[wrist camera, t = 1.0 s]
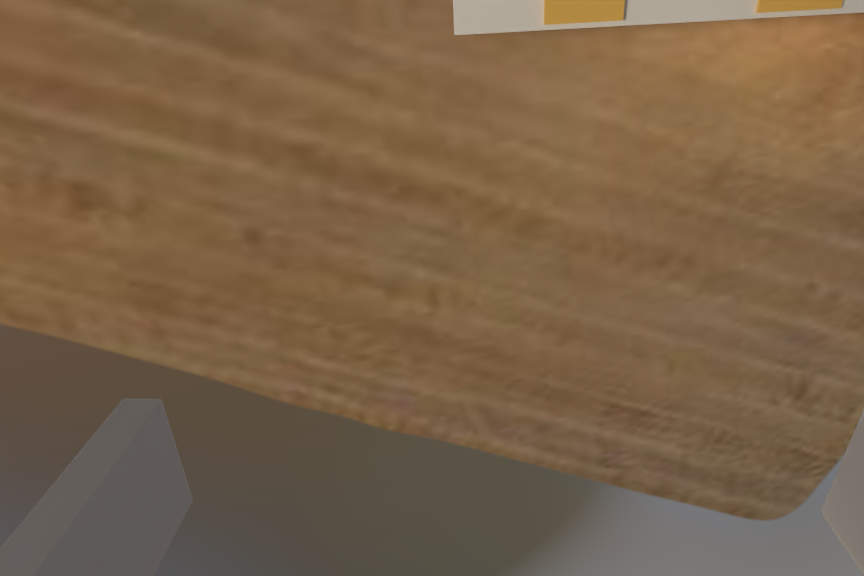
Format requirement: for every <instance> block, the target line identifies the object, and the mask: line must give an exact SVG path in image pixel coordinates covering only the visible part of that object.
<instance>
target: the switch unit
mask: <svg viewBox="0 0 864 576" xmlns="http://www.w3.org/2000/svg"><path fill="white" fill-rule="evenodd" d="M453 10H454V35H465V34H483V33H501V32H519V31H537V30H555V29H573V28H591V27H609V26H627V25H645V24H663V23H681V22H699V21H717V20H735V19H753V18H771V17H789V16H807V15H825V14H843V13H861V12H864V0H453Z"/></svg>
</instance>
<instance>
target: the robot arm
mask: <svg viewBox="0 0 864 576" xmlns="http://www.w3.org/2000/svg"><path fill="white" fill-rule="evenodd" d="M192 501H193V498H192V495H191V492H190V489H189V486H188V483H187V480H186V476H185V473H184V470H183V467H182V463H181V460H180V457H179V454H178V451H177V448H176V444H175V441H174V438H173V435H172V432H171V428H170V425H169V422H168V419H167V416H166V412H165V409H164V406H163V403H162V400H161V399H122V400H121V402H120V403H119V404H118V405H117V406H116V408H115V409H114V410H113V411H112V413H111V414H110V415H109V416H108V417H107V419H106V420H105V421H104V422H103V424H102V425H101V426H100V427H99V429H98V430H97V431H96V432H95V433H94V435H93V436H92V437H91V438H90V439H89V441H88V442H87V443H86V444H85V446H84V447H83V448H82V449H81V450H80V452H79V453H78V454H77V455H76V457H75V458H74V459H73V460H72V461H71V463H70V464H69V465H68V466H67V468H66V469H65V470H64V471H63V473H62V474H61V475H60V476H59V477H58V479H57V480H56V481H55V482H54V483H53V485H52V486H51V487H50V488H49V490H48V491H47V492H46V493H45V495H44V496H43V497H42V498H41V499H40V501H39V502H38V503H37V504H36V506H35V507H34V508H33V509H32V510H31V512H30V513H29V514H28V515H27V517H26V518H25V519H24V520H23V521H22V523H21V524H20V525H19V526H18V528H17V529H16V530H15V531H14V532H13V534H12V535H11V536H10V537H9V538H8V540H7V541H6V542H5V543H4V545H3V546H2V547H1V548H0V576H153V575H154V573H155V571H156V569H157V567H158V566H159V564H160V562H161V560H162V558H163V556H164V553H165V552H166V550H167V548H168V546H169V544H170V542H171V541H172V539H173V537H174V535H175V533H176V531H177V529H178V527H179V525H180V523H181V522H182V520H183V518H184V516H185V514H186V512H187V510H188V508H189V506H190V504H191V502H192ZM821 513H822V514H823V516H824V517H825V519H826V520H827V522H828V523H829V525H830V526H831V528H832V529H833V531H834V532H835V534H836V535H837V537H838V538H839V540H840V541H841V543H842V544H843V546H844V547H845V549H846V550H847V551H848V553H849V554H850V556H851V557H852V559H853V560H854V562H855V563H856V565H857V566H858V568H859V569H860V570H861V572H862V574H863V575H864V409H863V412H862V414H861V417H860V419H859V421H858V424H857V426H856V429H855V431H854V434H853V436H852V438H851V441H850V443H849V446H848V448H847V450H846V453H845V455H844V458H843V460H842V462H841V465H840V467H839V470H838V472H837V474H836V477H835V479H834V482H833V484H832V486H831V489H830V491H829V494H828V496H827V498H826V501H825V503H824V506H823V508H822V510H821Z"/></svg>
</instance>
